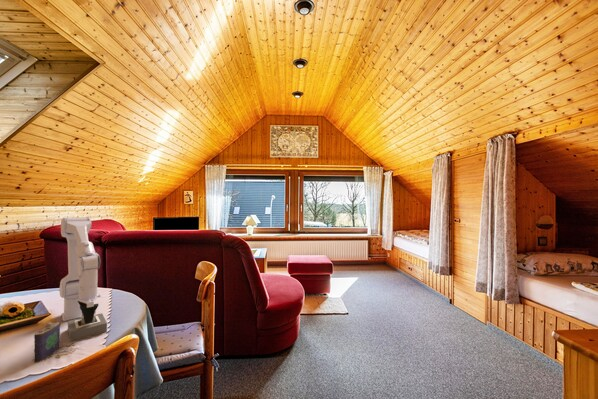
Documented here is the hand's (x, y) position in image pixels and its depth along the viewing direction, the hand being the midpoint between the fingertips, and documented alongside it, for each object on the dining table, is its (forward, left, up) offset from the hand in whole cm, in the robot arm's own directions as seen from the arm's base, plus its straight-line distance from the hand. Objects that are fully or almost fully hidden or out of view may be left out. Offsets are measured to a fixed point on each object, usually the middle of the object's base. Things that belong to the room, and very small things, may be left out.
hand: (87, 319), depth 105 cm
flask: (+11, -12, -5) cm, 17 cm away
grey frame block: (0, 0, -4) cm, 4 cm away
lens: (0, 0, -4) cm, 4 cm away
